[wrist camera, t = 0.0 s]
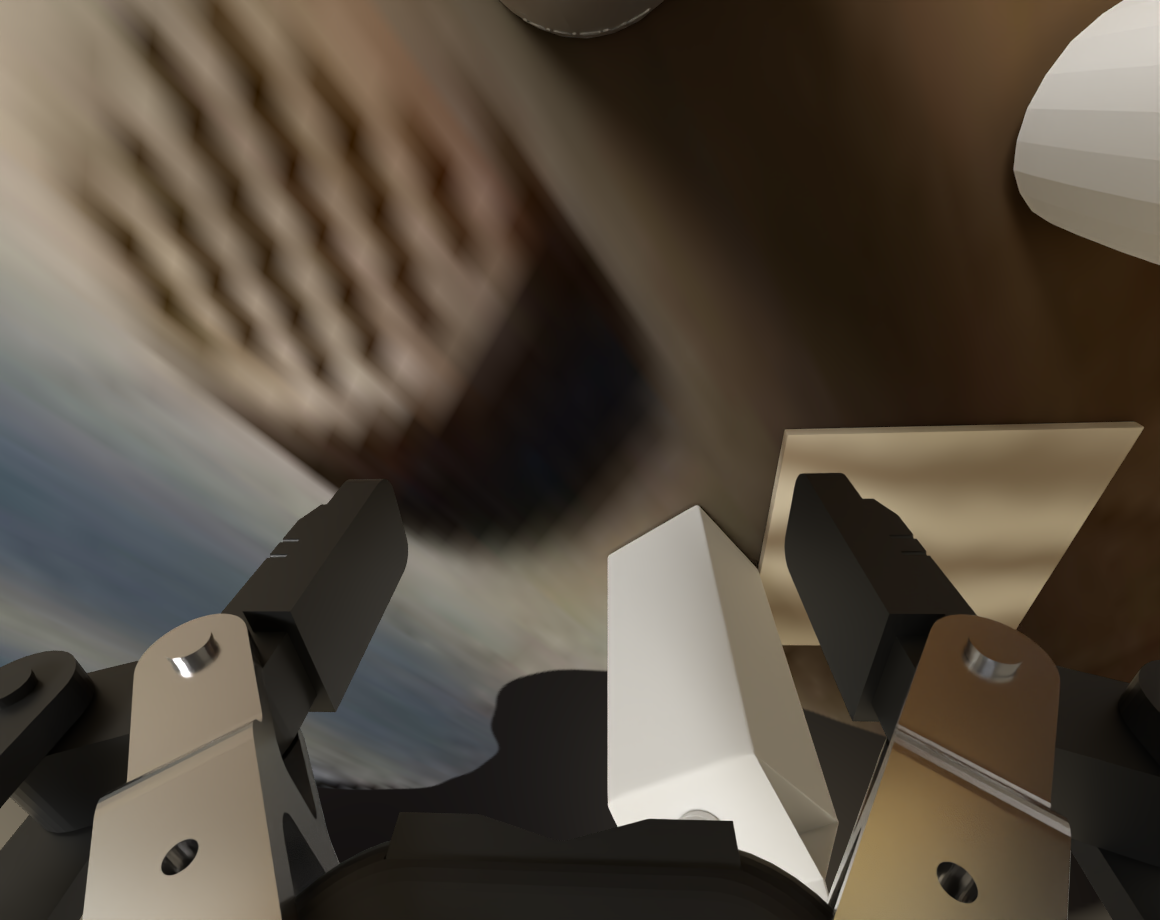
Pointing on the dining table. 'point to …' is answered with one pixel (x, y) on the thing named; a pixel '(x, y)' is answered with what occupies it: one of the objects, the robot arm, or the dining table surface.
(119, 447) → the dining table surface
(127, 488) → the dining table surface
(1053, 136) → the cup
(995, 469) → the birch board
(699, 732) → the milk carton
